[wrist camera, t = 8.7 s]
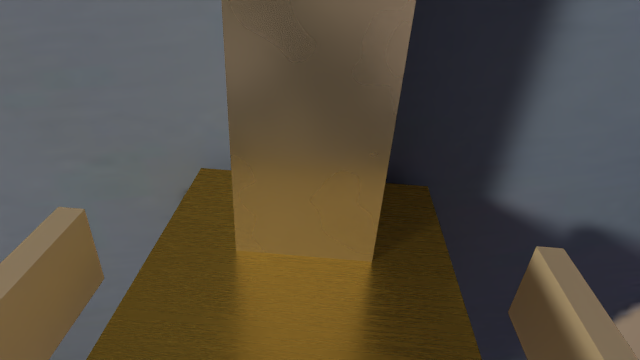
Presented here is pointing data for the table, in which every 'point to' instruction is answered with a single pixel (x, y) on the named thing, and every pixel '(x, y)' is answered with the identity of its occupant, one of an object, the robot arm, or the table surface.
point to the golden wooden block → (301, 209)
